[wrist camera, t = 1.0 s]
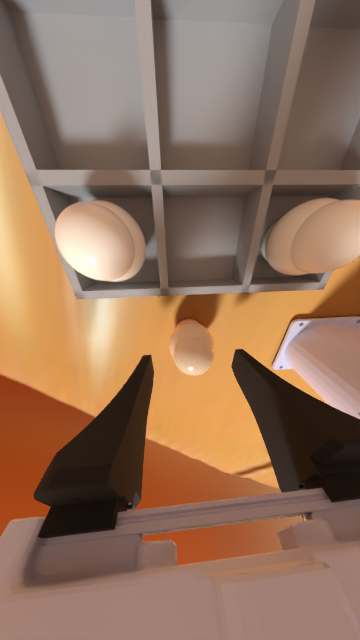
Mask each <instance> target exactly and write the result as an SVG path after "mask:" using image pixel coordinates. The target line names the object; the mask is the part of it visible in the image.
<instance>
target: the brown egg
mask: <svg viewBox="0 0 360 640" xmlns="http://www.w3.org/2000/svg"><path fill="white" fill-rule="evenodd" d="M169 348H170V352H171V354H172V356H173V358H174V361H175V364H176V365H177V367H178V368H179V369H180V370H181V371H182V372H183V373H185V374H187V375H192V376H196V375H200V374H203V373H204V372H206V371H207V370H208V369H209V368H210V366H211V364H212V362H213V339H212V336H211V334H210V332H209V331H208V330H207V329H206V328H205V327H204V326H203V325H201V324H200V323H199V322H198V321H196V320H194V319H184V320H182V321H180V322H179V323H178V324H177V325H176V327H175V330H174V331H173V332H172V334H171V337H170V340H169Z"/></svg>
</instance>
